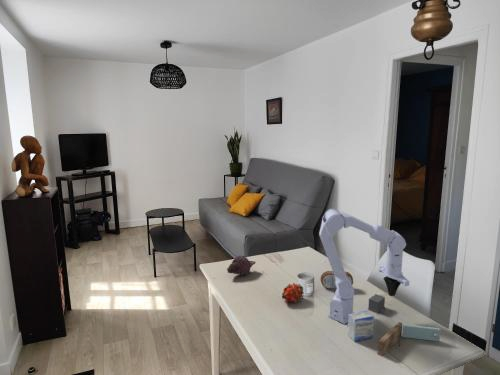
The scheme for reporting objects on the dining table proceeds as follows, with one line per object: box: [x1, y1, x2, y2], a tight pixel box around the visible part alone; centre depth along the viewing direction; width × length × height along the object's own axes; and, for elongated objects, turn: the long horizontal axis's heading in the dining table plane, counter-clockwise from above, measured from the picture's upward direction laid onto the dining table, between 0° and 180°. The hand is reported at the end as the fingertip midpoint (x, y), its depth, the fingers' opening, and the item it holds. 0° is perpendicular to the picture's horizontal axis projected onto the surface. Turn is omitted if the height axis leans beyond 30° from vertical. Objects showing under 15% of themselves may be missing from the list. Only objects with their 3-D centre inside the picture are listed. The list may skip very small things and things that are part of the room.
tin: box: [320, 270, 354, 290], centre depth 162 cm, size 15×3×8 cm, turn 84°
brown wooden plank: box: [377, 321, 403, 357], centre depth 121 cm, size 16×2×5 cm, turn 133°
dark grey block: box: [367, 293, 386, 314], centre depth 144 cm, size 6×4×5 cm, turn 133°
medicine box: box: [347, 310, 375, 342], centre depth 126 cm, size 8×4×9 cm, turn 105°
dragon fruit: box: [281, 282, 305, 304], centre depth 152 cm, size 8×8×12 cm
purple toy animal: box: [226, 255, 256, 276], centre depth 179 cm, size 18×10×10 cm, turn 129°
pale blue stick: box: [402, 323, 441, 342], centre depth 123 cm, size 12×2×4 cm, turn 76°
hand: (391, 295), depth 137 cm, fingers closed
